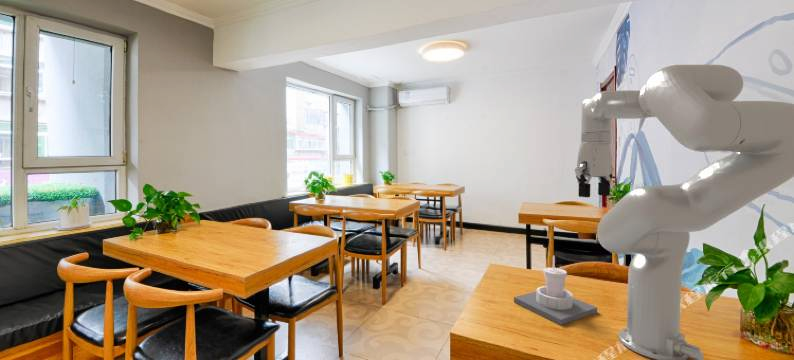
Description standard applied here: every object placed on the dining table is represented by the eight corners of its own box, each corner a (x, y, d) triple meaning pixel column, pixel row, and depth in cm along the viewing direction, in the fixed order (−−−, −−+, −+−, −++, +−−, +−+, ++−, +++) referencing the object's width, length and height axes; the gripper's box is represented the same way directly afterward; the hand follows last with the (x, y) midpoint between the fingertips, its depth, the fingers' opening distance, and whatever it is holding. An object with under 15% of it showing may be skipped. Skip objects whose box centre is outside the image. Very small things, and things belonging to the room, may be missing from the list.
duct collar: (597, 312, 90) (597, 297, 90) (560, 325, 83) (561, 308, 83) (548, 292, 104) (548, 279, 104) (513, 301, 97) (514, 287, 97)
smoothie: (553, 296, 97) (554, 252, 97) (571, 305, 91) (572, 258, 91) (538, 299, 95) (538, 254, 94) (555, 308, 89) (556, 260, 89)
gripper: (600, 141, 100) (598, 194, 101) (565, 139, 93) (564, 196, 93) (625, 139, 94) (624, 196, 94) (590, 137, 86) (589, 198, 87)
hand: (594, 196), depth 94 cm, fingers open, 9 cm apart
